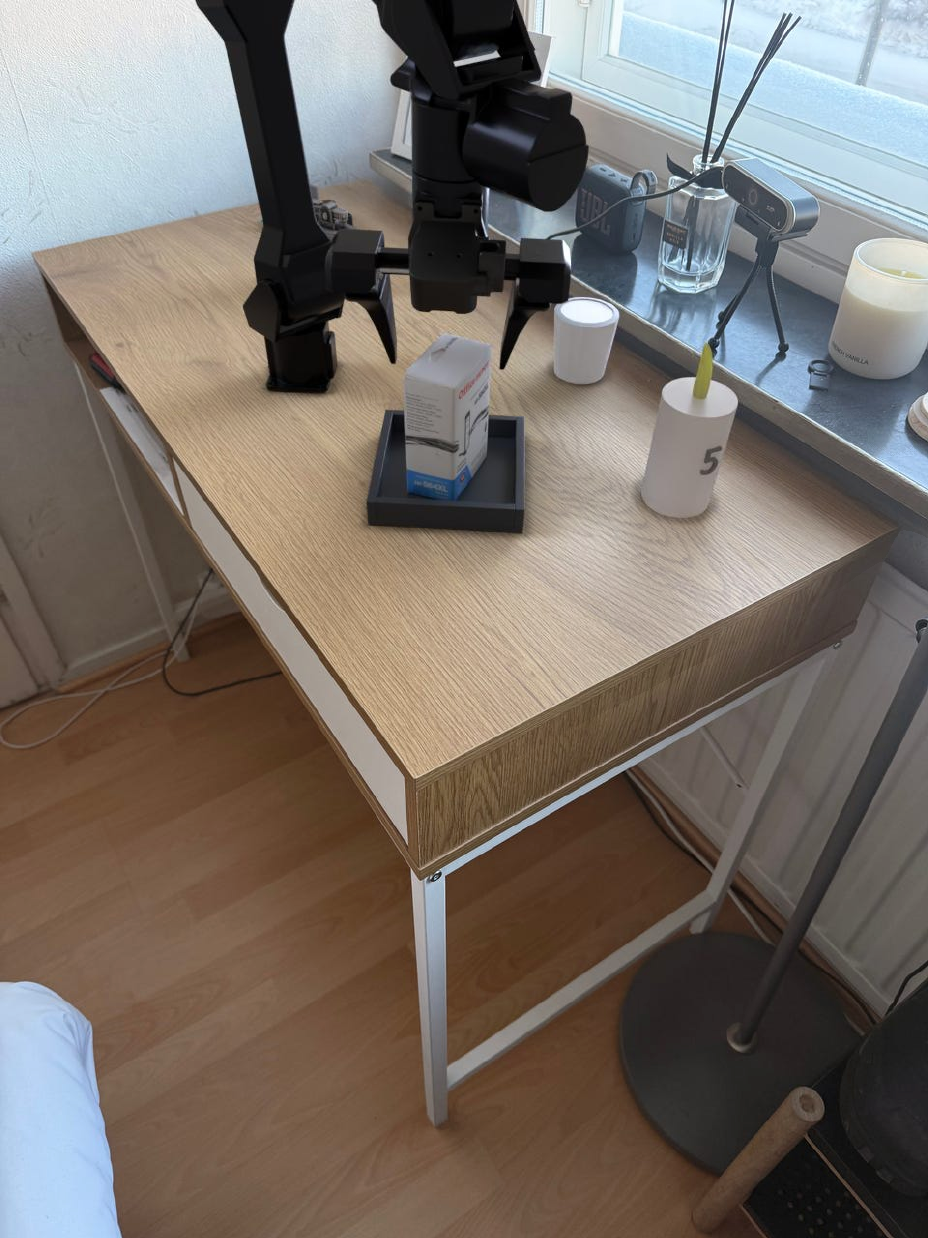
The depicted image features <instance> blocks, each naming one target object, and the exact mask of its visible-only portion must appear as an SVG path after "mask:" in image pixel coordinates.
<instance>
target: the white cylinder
mask: <svg viewBox="0 0 928 1238" xmlns="http://www.w3.org/2000/svg"><path fill="white" fill-rule="evenodd" d="M553 309H554V310H553V312H554V313H553V367H552V368H553V374H555V376H556V377H557V378H558V379H560V380H562V381H563V382H566V383H569V384H573V385H590V384H594V383H597V382H598V381H600V380H602V379H603V377H604V376H605V373H606V369H607V365H608V362H609V357H610V354H611V350H612V347H613V342H614V338H615V335H616V331H617V327H618V323H619V319H620V312H619V309H618V308H617V307H615V306H614V304H612V303H609V302H608V301H606V300H603V299H600V298H595V297H588V296H587V297H586V296H584V297H583V296H576V297H569V298H568V301H567V302H565V303H562V304H555V306H554V308H553Z"/></svg>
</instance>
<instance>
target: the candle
mask: <svg viewBox="0 0 928 1238" xmlns="http://www.w3.org/2000/svg"><path fill="white" fill-rule="evenodd" d="M713 367H714V360H713V351H712V348H711V346H710V344H709V343H708V342H705V343H704V344H703V347H702V351H701V355H700V360H699V364H698V367H697V371H696V375H695V376H693V377H692V376H691V377H690V376H689V377H688V376H687V377H680V378H676V379H672V380H670V381H669V382H668V383H666V384H665V385H664V387H662V391H661V395H660V401H659V405H658V409H657V415H656V419H655V424H654V428H653V432H652V433H653V435H652V436H651V437H652V438H651V442H650V447H649V452H648V456H647V461H646V466H645V470H644V475H643V479H642V484H641V487H640V488H641V490H640V496H641V499H642V501H643V503H644V504H645V505H646V506H647V507H648V508H649V509H650V510H652V511H654V512H656V513H658V514H659V515H661V516H665V517H668V518H669V517H670V518H676V519H688V518H694V517H697V516H700V515H702V514H703V513H704V512H705V511H707V509H708V507H709V505H710V503H711V498H712V495H713V492H714V488H715V485H716V481H717V478H718V475H719V471H720V467H721V465H722V461H723V457H724V454H725V450H726V447H727V444H728V440H729V437H730V433H731V430H732V426H733V423H734V419H735V416H736V412H737V409H738V405H739V399H738V397H737V395H736V393H735V392H734V391H733V390H732V389H731V388H730V387H728V386H727V385H725V384H723V383H720V382H719V381H717V380H716V381H715V380H713V379H712V377H713V376H712V375H713Z"/></svg>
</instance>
